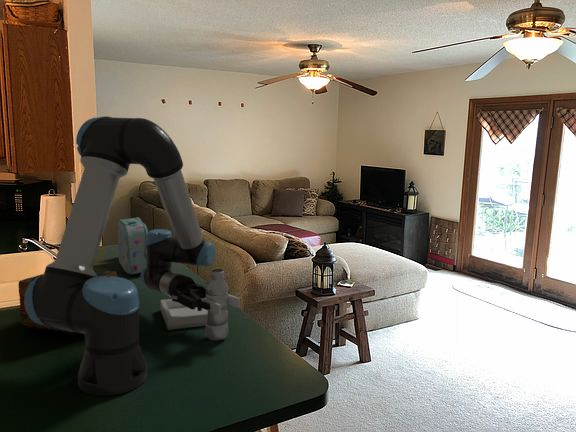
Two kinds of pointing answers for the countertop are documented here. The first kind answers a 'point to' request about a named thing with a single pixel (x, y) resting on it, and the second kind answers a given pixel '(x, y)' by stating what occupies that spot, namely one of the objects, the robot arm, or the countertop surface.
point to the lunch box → (132, 245)
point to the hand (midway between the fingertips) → (229, 306)
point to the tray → (182, 315)
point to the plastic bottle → (218, 294)
